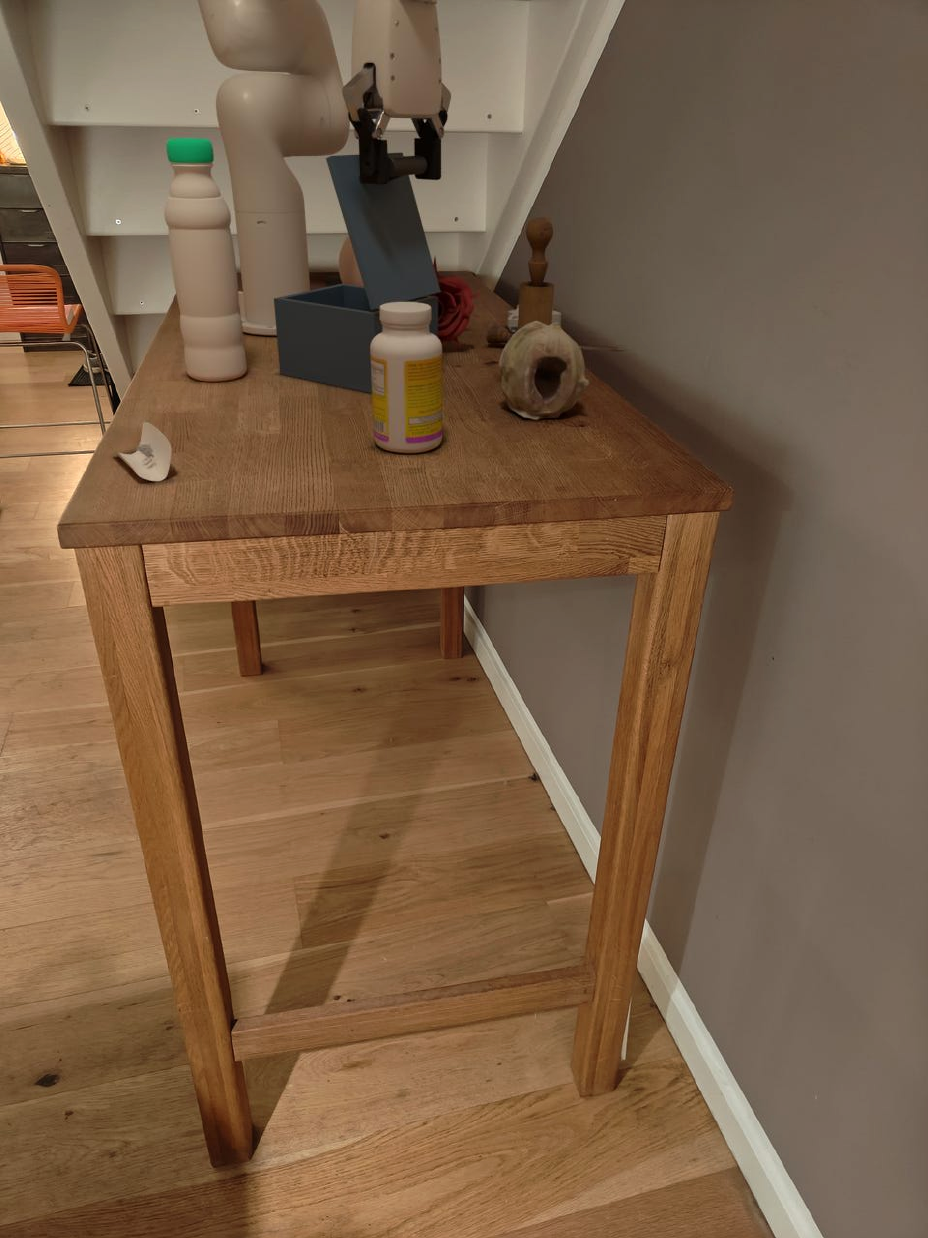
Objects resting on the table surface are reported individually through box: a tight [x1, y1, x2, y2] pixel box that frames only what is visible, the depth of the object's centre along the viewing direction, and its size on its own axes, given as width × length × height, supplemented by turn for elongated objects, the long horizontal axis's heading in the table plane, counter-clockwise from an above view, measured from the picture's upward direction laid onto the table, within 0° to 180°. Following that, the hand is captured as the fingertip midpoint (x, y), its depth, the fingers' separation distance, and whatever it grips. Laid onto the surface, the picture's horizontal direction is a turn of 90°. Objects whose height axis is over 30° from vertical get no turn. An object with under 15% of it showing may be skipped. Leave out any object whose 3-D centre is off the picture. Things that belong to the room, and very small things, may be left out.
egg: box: [338, 234, 364, 287], centre depth 143 cm, size 9×9×12 cm
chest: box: [274, 284, 438, 394], centre depth 106 cm, size 15×13×9 cm
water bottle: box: [163, 137, 248, 383], centre depth 99 cm, size 7×7×25 cm
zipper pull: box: [506, 304, 562, 333], centre depth 125 cm, size 8×18×4 cm, turn 168°
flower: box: [429, 256, 482, 350], centre depth 126 cm, size 13×12×30 cm
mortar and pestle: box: [518, 217, 555, 330], centre depth 101 cm, size 7×6×18 cm
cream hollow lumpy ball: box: [498, 321, 590, 421], centre depth 93 cm, size 9×8×10 cm
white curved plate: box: [109, 421, 173, 482], centre depth 78 cm, size 4×8×3 cm
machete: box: [486, 322, 629, 353], centre depth 120 cm, size 21×3×5 cm
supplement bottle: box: [370, 302, 443, 454], centre depth 82 cm, size 7×7×13 cm
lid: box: [325, 152, 441, 310], centre depth 96 cm, size 15×13×6 cm
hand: (402, 181), depth 94 cm, fingers open, 9 cm apart
